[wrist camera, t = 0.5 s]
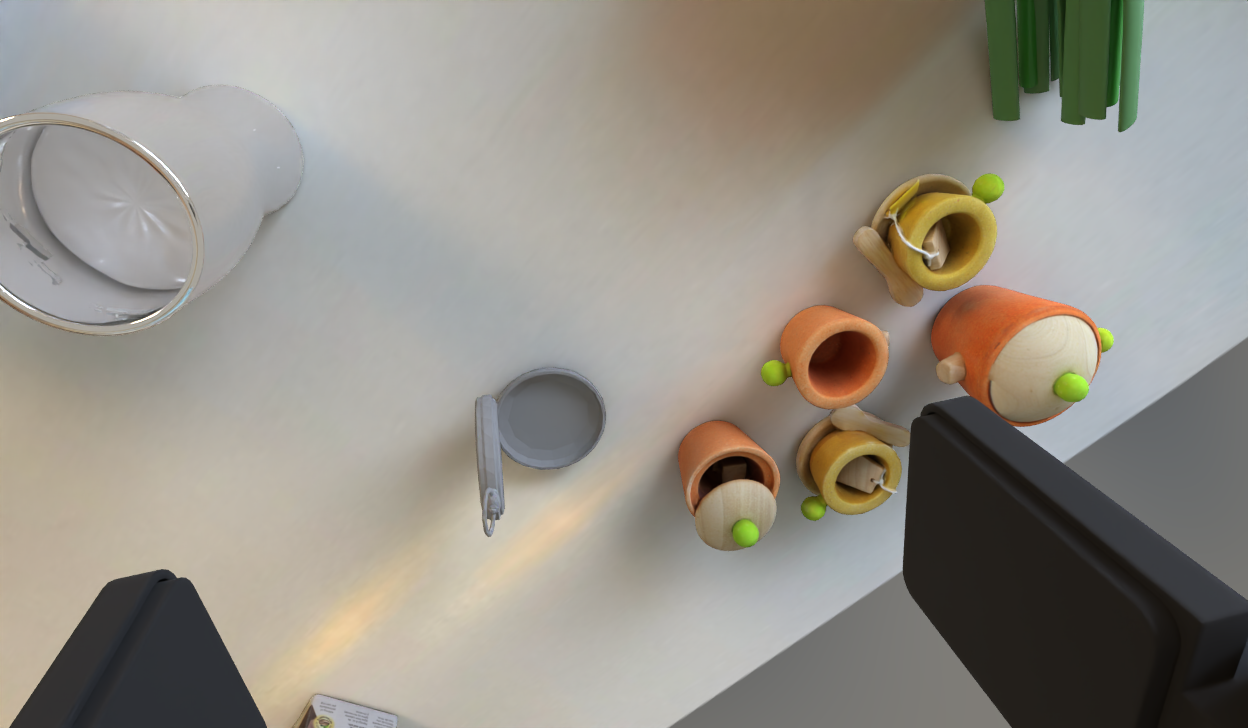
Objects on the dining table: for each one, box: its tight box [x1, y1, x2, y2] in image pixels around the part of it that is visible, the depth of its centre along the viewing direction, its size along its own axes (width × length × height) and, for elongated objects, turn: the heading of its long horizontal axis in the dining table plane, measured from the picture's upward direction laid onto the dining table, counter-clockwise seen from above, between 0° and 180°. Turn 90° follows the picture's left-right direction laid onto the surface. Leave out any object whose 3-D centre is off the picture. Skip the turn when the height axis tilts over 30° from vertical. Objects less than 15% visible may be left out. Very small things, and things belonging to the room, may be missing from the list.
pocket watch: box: [475, 368, 606, 537], centre depth 38 cm, size 8×8×10 cm
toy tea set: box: [678, 174, 1114, 551], centre depth 41 cm, size 26×16×10 cm, turn 138°
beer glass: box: [0, 85, 304, 336], centre depth 27 cm, size 7×7×15 cm
